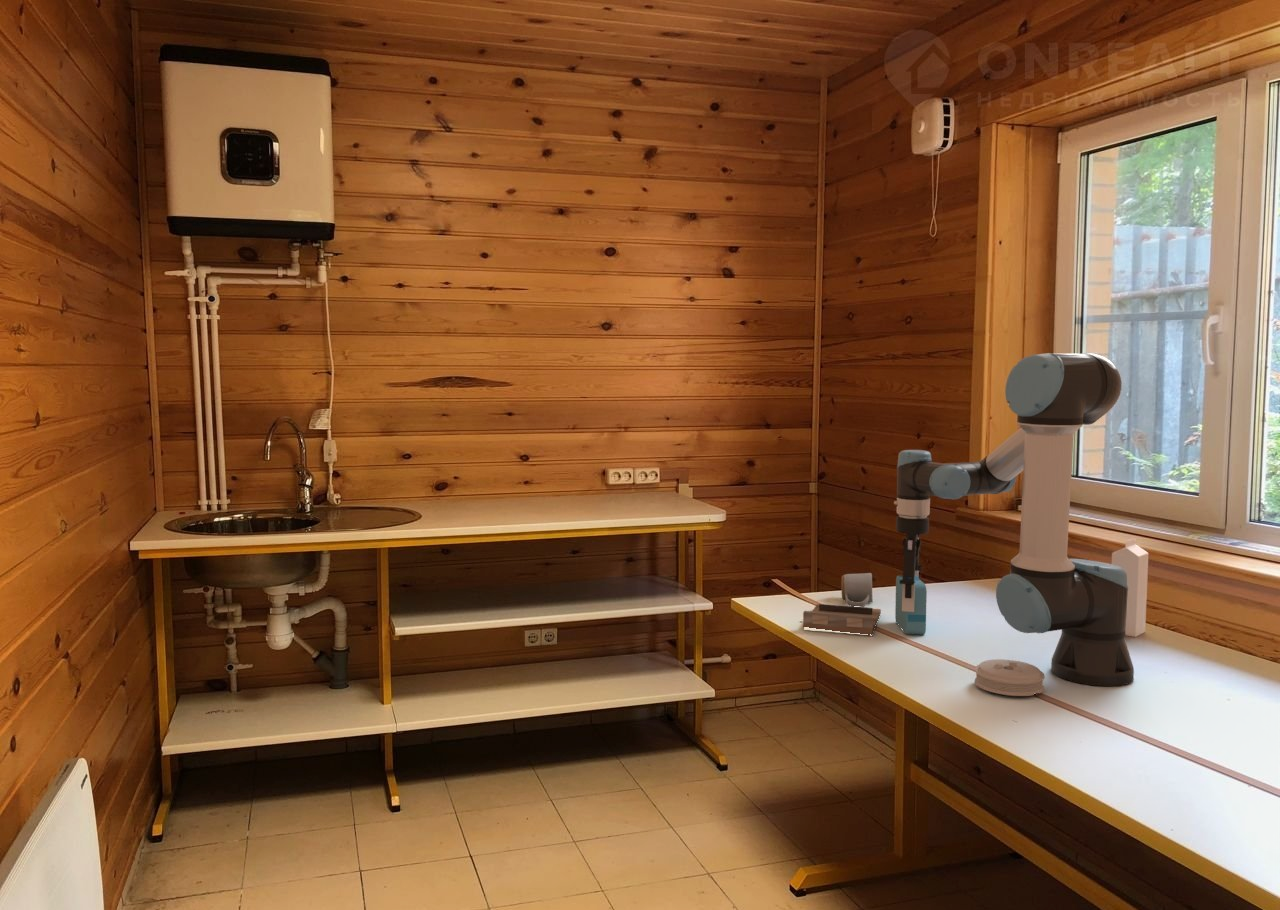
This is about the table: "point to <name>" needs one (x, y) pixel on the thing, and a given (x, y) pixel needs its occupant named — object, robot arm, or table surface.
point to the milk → (1134, 584)
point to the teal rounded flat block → (916, 619)
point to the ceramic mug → (857, 589)
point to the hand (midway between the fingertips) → (910, 604)
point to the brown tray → (842, 618)
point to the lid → (1009, 677)
